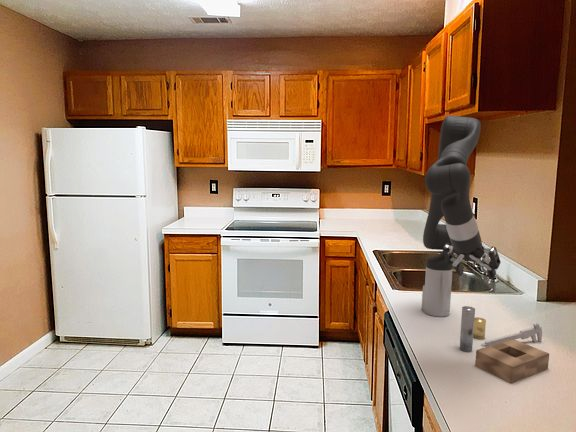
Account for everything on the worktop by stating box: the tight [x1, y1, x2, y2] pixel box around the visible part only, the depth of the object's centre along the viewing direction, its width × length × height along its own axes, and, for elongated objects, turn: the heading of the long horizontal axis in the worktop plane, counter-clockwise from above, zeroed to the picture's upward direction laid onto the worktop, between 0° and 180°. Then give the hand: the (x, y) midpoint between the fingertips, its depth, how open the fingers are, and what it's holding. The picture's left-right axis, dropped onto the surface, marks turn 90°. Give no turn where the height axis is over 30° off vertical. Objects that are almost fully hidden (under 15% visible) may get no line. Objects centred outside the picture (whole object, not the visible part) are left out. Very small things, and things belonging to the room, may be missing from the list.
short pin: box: [473, 316, 487, 340], centre depth 140 cm, size 4×4×6 cm
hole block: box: [474, 339, 550, 384], centre depth 121 cm, size 11×16×4 cm
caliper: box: [480, 322, 543, 348], centre depth 135 cm, size 20×1×6 cm, turn 100°
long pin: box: [458, 305, 476, 353], centre depth 131 cm, size 4×4×13 cm
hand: (476, 275), depth 123 cm, fingers open, 8 cm apart
